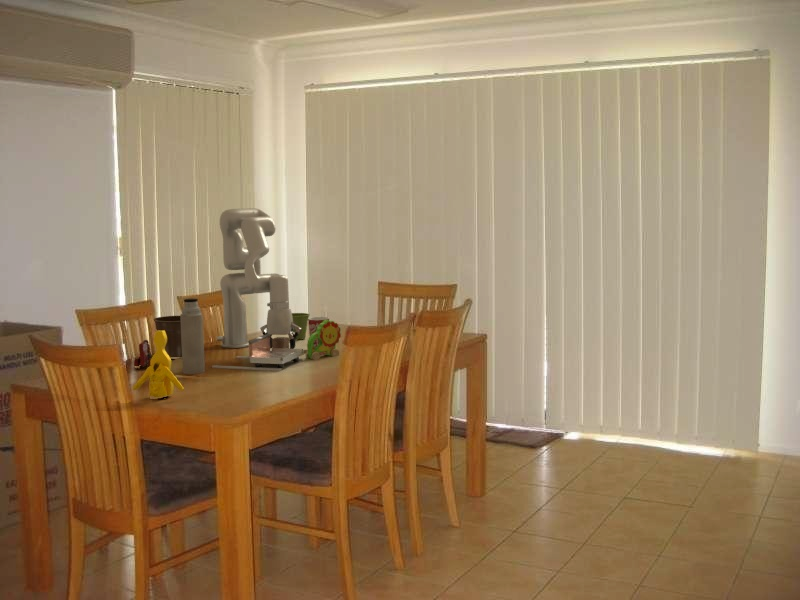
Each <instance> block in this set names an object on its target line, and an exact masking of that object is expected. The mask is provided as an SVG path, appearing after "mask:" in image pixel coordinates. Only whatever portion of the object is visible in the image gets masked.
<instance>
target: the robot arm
mask: <svg viewBox="0 0 800 600" xmlns="http://www.w3.org/2000/svg"><path fill="white" fill-rule="evenodd" d="M219 227H220V231H221V236H222V251H223V252H222V254H223V257H222V258H223V266H224V268H225V269H226V270H228V271H242V270H244V271H243V272H232V273H227V274H225V275H224V276H222V277H221V279H220V283H219V284H220V289H221V290H220V291H221V294H222V302H223V304H222V305H223V322H224V323H223V326H224V327H223V328H224V335H219V336H217V337H216V340H217V341H218V342H222V343H221V347H222V348H225V349H238V348H239V349H240V348H247V347H248V348H249V343H248V341H249V340H248V327H247V325H248V324H247V306H246V305H247V304H246V303H245V301H244V299H243V298H242V297H241V296H243V295H252V294H253V295H254V294H264V293H269V302H267V303H266V306H267V307H269V309H268V310H267V317H266V324H264V325H263V326H261V327H260V328H259V329H260V331H261V333H262V336H263V335H265V334H270V349H272V339H273V337H272V336H274V335H276V336H279V335H280V336H286V335H288V337H289V336H290V338H291V339H289V349H296V340H295V338H296V337H297V336H298V335H299V332H300V330H301V328H300V327H299V326H297V325H295V324H293V317H292V310H291V308H290V297H289V296H290V295H289V277H288V275H286V274H285V275H284V274H279V273H263V274H262V273H261V258H263V257H265V256H266V255H268V254H269V252H270V247H269V243H268V240H267V238H266V237H272V236H274V235H275V233H276V229H277V228H276V223H275V220H274V219H273V218H272V217H271V216H270V215H269V214H267V213H266V212H264V211H263V210H261V209H259V208H254V207H253V208H251V207H250V208H230V209H225V210H224V211H222V213H221V214H220V217H219ZM240 229H241V231H240ZM244 242H245V245H246V246H245V247H244ZM294 329H296V333H295V334H294V333H293V331H294Z"/></svg>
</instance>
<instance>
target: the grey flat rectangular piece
mask: <svg viewBox="0 0 800 600" xmlns="http://www.w3.org/2000/svg"><path fill="white" fill-rule="evenodd" d="M236 359H241V360H242V359H243V360H245V359H247V360H250V359H249V355H248V356H246V355H245V356H243V355H238V356H236ZM290 361H293V360H290ZM303 361H304V359H303V358H299V361H298V362H303ZM211 366H212V367H211V368H212V369H231V370H250V371H251V370H253V371H276V372H281V371H282V369H283V368H278V367H256V366H232V365H211Z"/></svg>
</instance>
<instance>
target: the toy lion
mask: <svg viewBox="0 0 800 600" xmlns="http://www.w3.org/2000/svg"><path fill="white" fill-rule="evenodd" d="M341 337H342V333H341V327H340V326H339V324H338V322H335V321H334V320H329V321H328V320H324V321H323V322H322V323H320V324H319V326H318V328H317V329H316V332H315V333H313V334H312V335H311V336H310V335H309V338H308V340H307V346H306V347H307V351H306V352H305V358H306V359H311V360H315V361H316V360H319V359H321V356H323V355H325V356H330V357H336V356H339V355H340V350H339V349H337V348H336V345H337V344H338V343H339V342H340V338H341ZM316 338H318V340H319V345H318V346H317V347H316V348H315V349H314V348H313V343H314V340H315V339H316Z"/></svg>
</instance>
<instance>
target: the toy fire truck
mask: <svg viewBox="0 0 800 600" xmlns="http://www.w3.org/2000/svg"><path fill="white" fill-rule="evenodd" d="M138 344H139V345H138V351H139V356H138V358H135V359H134V362H133V364H134V366H139V365H141V366H146V365H147V366H151V365H150V360H151V358H152V357H153V355H152V350H151V346H150V344H149V340H148V339H144V340H143V341H141V342H140V343H138ZM147 366H146V367H147Z"/></svg>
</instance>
